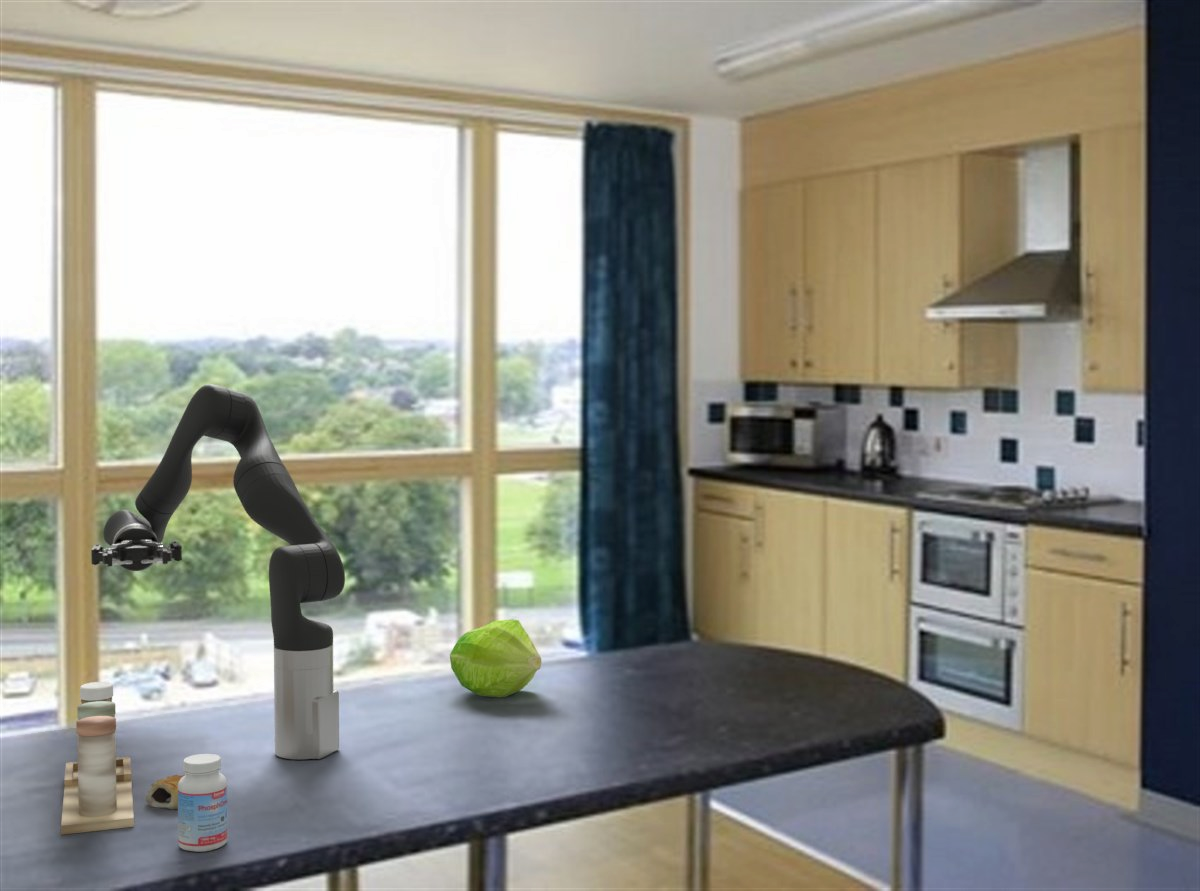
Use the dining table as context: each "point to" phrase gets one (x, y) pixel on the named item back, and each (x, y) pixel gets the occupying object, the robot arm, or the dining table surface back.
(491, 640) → the lettuce
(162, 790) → the pastry
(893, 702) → the dining table surface
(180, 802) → the pill bottle
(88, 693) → the spice jar
